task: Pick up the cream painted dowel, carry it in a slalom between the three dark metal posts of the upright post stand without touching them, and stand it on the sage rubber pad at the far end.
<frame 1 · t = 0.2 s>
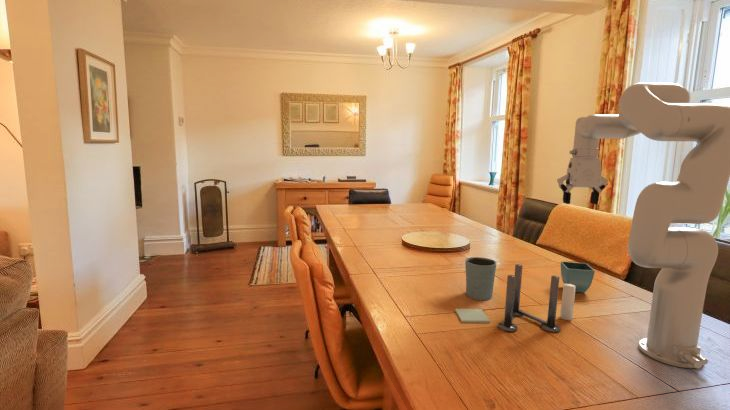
hand: (580, 203, 134), 31 cm above the table, fingers open, 9 cm apart
upright post stand: (521, 320, 112), on the table
grey teal cup: (478, 295, 131), on the table
flower pot: (574, 290, 137), on the table
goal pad: (471, 316, 114), on the table
dowel: (566, 317, 114), on the table
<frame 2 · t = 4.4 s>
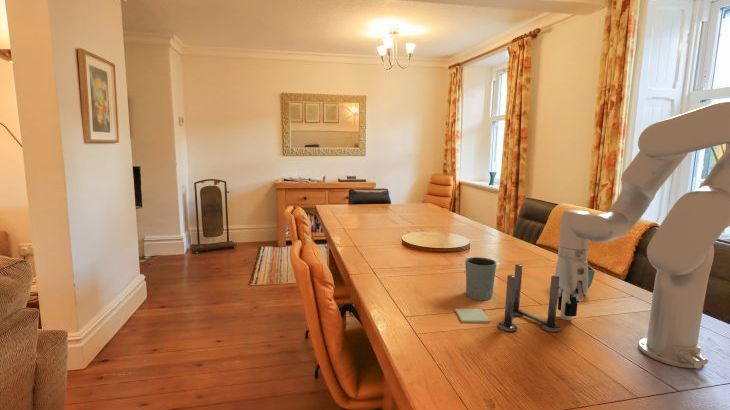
hand: (566, 312, 114), 2 cm above the table, fingers closed on dowel, 3 cm apart
dowel: (566, 317, 114), on the table, touching gripper
everything else where it was.
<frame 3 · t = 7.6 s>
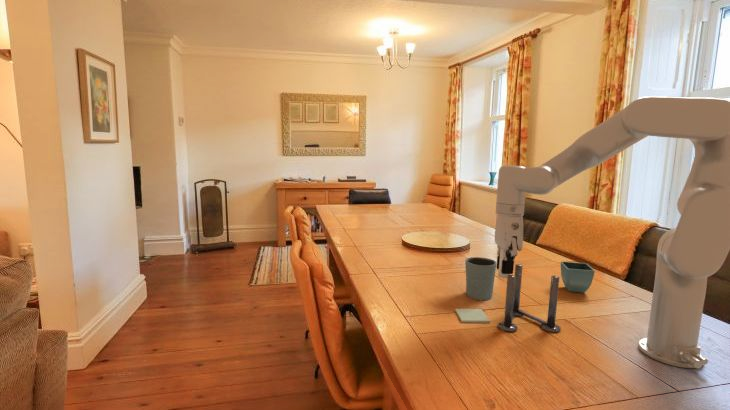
hand: (504, 270, 112), 14 cm above the table, fingers closed on dowel, 3 cm apart
dowel: (504, 276, 112), point 12 cm above the table, touching gripper
everything else where it was.
when the fingers open (3 cm above the table, at t = 11.1 s): dowel drops 1 cm, resting on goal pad.
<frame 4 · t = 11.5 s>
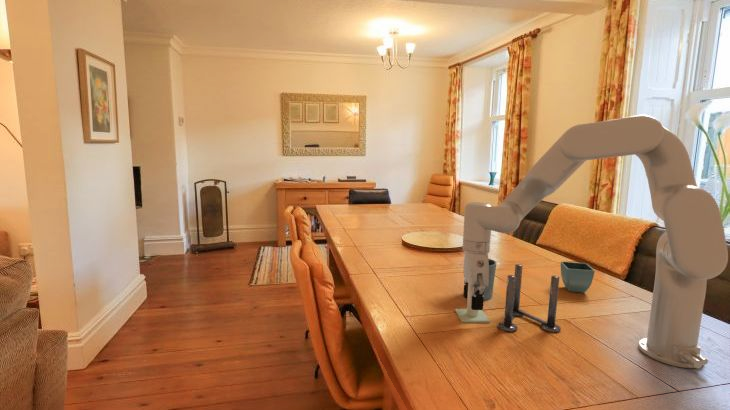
hand: (472, 303, 113), 4 cm above the table, fingers open, 8 cm apart
dowel: (472, 314, 114), point 1 cm above the table, touching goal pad
everything else where it was.
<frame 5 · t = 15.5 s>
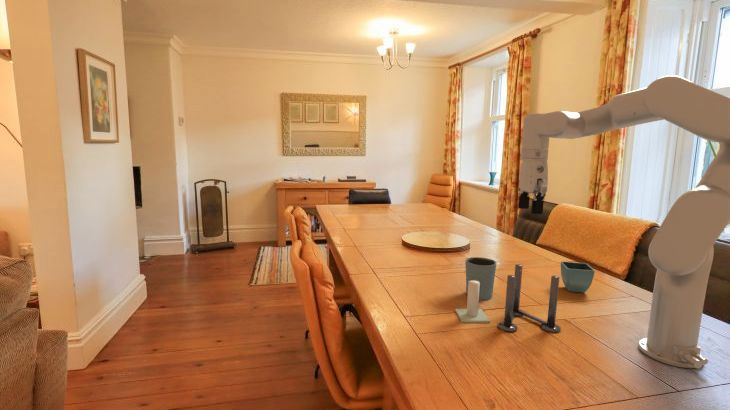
hand: (529, 211, 119), 30 cm above the table, fingers open, 9 cm apart
nothing on the table moved.
at the end: dowel inside the target area on the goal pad (0.0 cm from its centre), point 0.6 cm above the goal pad's base; dowel tilted 0°; dowel touching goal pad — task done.
